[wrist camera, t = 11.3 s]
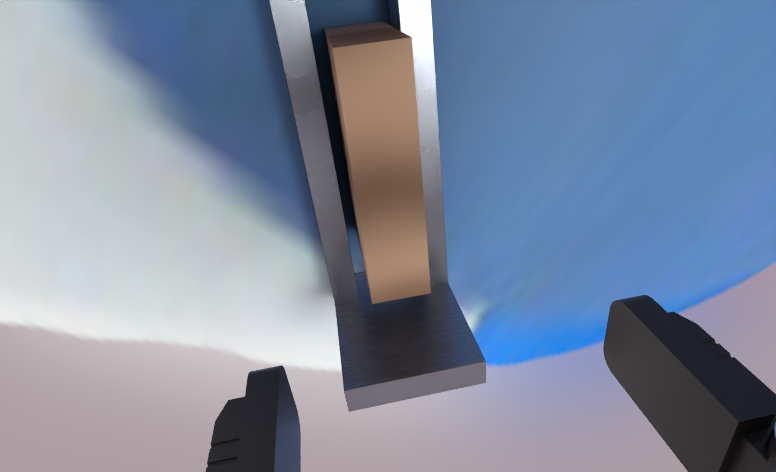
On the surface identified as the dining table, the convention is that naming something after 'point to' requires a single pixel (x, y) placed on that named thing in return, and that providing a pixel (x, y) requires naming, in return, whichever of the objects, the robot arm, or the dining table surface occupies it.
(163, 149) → the dining table surface
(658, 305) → the robot arm
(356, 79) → the door panel
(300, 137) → the grey desk caddy
